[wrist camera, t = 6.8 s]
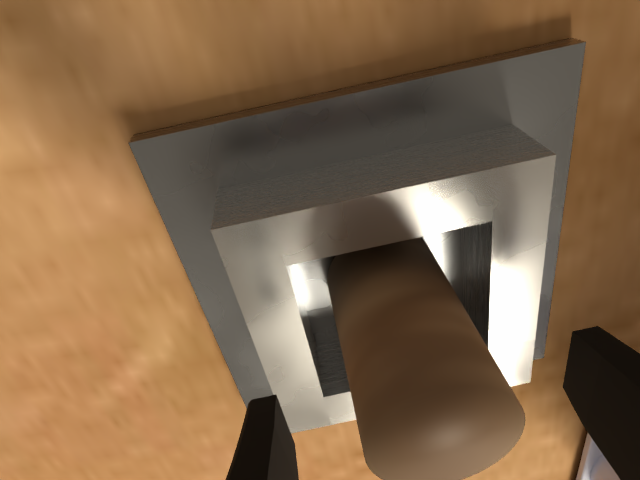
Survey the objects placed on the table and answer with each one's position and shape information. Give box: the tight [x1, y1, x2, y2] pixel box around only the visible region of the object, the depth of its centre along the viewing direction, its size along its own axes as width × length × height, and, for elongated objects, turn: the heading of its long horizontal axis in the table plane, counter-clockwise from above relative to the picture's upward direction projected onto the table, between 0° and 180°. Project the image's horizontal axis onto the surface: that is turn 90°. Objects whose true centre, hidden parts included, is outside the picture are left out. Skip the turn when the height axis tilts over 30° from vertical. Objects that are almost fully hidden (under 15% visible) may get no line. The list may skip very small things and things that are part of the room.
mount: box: [129, 38, 586, 433], centre depth 14 cm, size 12×12×3 cm
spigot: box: [327, 237, 525, 480], centre depth 12 cm, size 4×4×6 cm
